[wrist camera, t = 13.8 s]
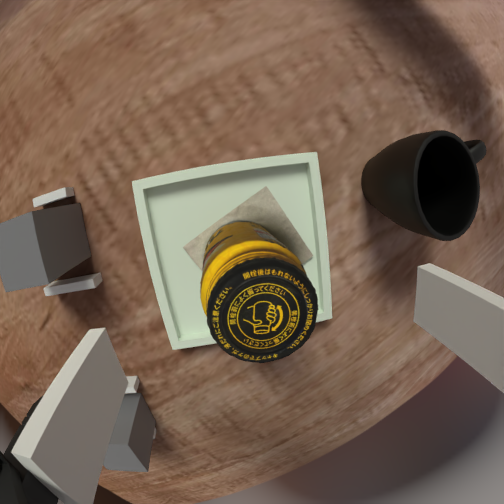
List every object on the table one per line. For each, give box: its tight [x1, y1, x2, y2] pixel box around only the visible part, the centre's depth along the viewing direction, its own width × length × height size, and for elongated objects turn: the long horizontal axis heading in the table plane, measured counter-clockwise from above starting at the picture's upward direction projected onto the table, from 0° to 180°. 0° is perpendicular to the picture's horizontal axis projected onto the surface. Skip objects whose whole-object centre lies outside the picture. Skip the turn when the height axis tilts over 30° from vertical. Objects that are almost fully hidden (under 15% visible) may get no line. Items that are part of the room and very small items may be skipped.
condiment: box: [183, 186, 318, 363], centre depth 18 cm, size 7×8×12 cm
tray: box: [132, 152, 332, 350], centre depth 24 cm, size 15×15×2 cm
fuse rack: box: [0, 187, 156, 472], centre depth 21 cm, size 29×6×8 cm, turn 9°
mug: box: [362, 131, 486, 241], centre depth 21 cm, size 8×12×10 cm
